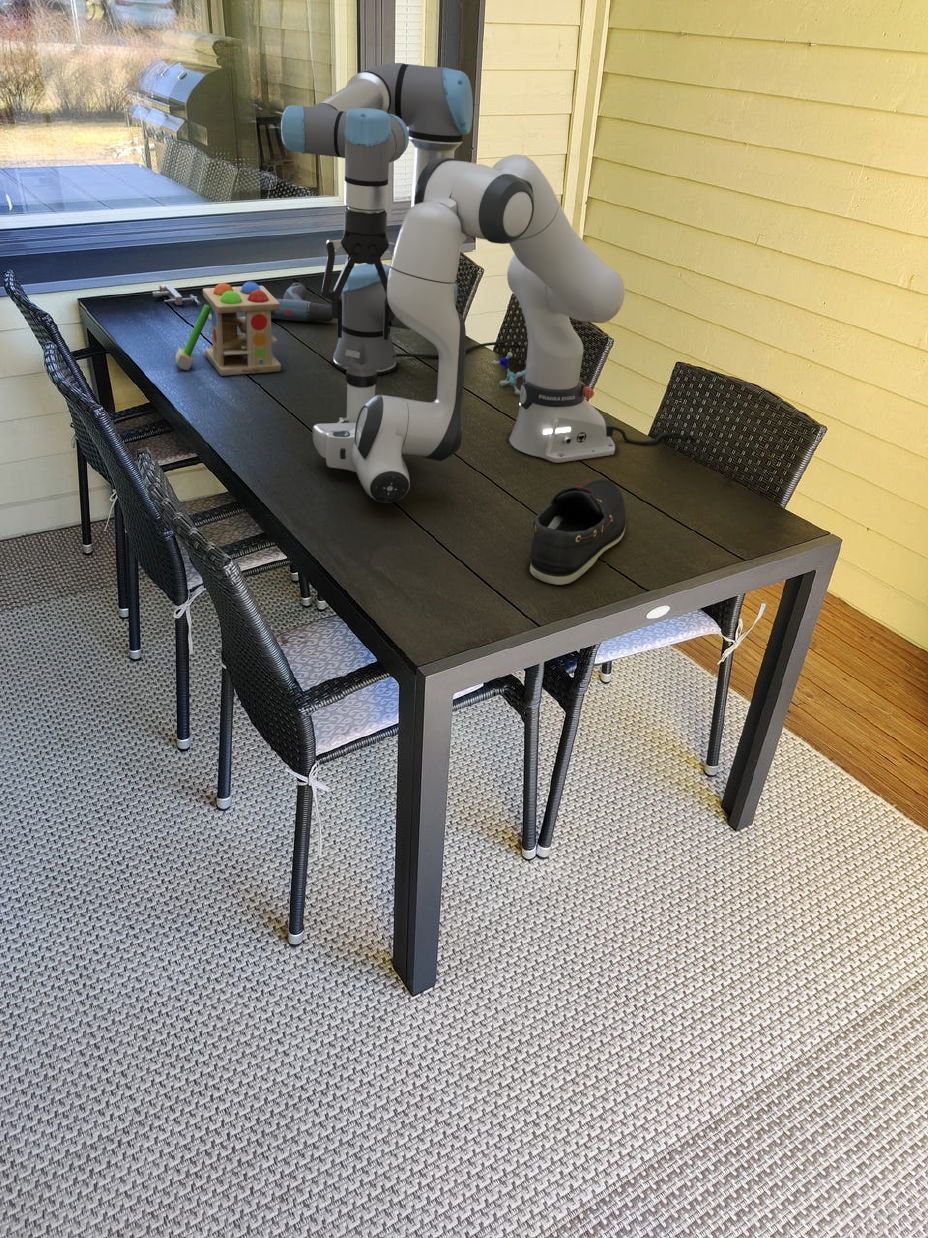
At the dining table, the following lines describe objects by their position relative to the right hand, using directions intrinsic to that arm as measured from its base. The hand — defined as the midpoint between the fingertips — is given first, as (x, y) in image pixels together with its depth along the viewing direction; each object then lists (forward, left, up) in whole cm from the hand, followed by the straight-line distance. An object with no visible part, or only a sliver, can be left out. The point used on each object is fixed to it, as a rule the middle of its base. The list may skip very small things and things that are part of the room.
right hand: (359, 420), depth 195 cm
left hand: (0, +1, +17) cm, 17 cm away
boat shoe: (-32, +42, -6) cm, 53 cm away
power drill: (-1, -87, -6) cm, 87 cm away
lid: (0, +1, +10) cm, 10 cm away
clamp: (+33, -97, -6) cm, 103 cm away
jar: (0, +1, -6) cm, 6 cm away
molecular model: (-43, -30, -6) cm, 53 cm away
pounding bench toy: (+23, -48, -6) cm, 54 cm away
